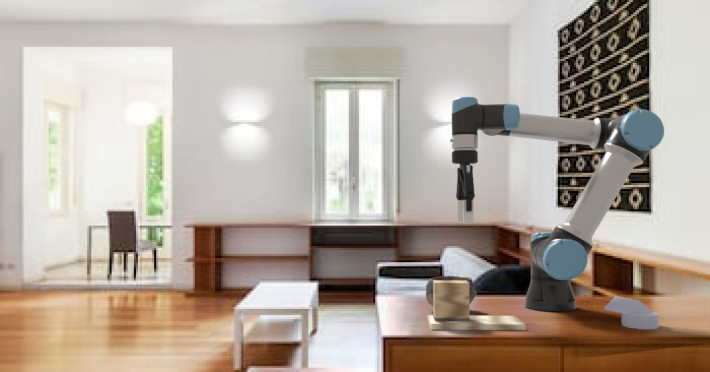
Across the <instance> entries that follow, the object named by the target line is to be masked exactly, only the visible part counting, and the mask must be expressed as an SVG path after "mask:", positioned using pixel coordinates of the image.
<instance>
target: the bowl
mask: <svg viewBox="0 0 710 372" xmlns="http://www.w3.org/2000/svg"><path fill="white" fill-rule="evenodd" d="M433 280H459V281H468V282H469V306H470V305H471V304H472V302H473V301H474V299H475V297H476V295H477V293H478V292H477V290H476V289H475V288H476V287H475V285H474V282H473V279H472V278H471V277H465V276H458V275H457V276H455V275H447V276H445V275H443V276H436V277H432V278H431V277H430V278H429V279H428V281H427V283H426V285H425V297H426V300H427V302H428V303H429V304H430V306H432V307H433Z"/></svg>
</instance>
